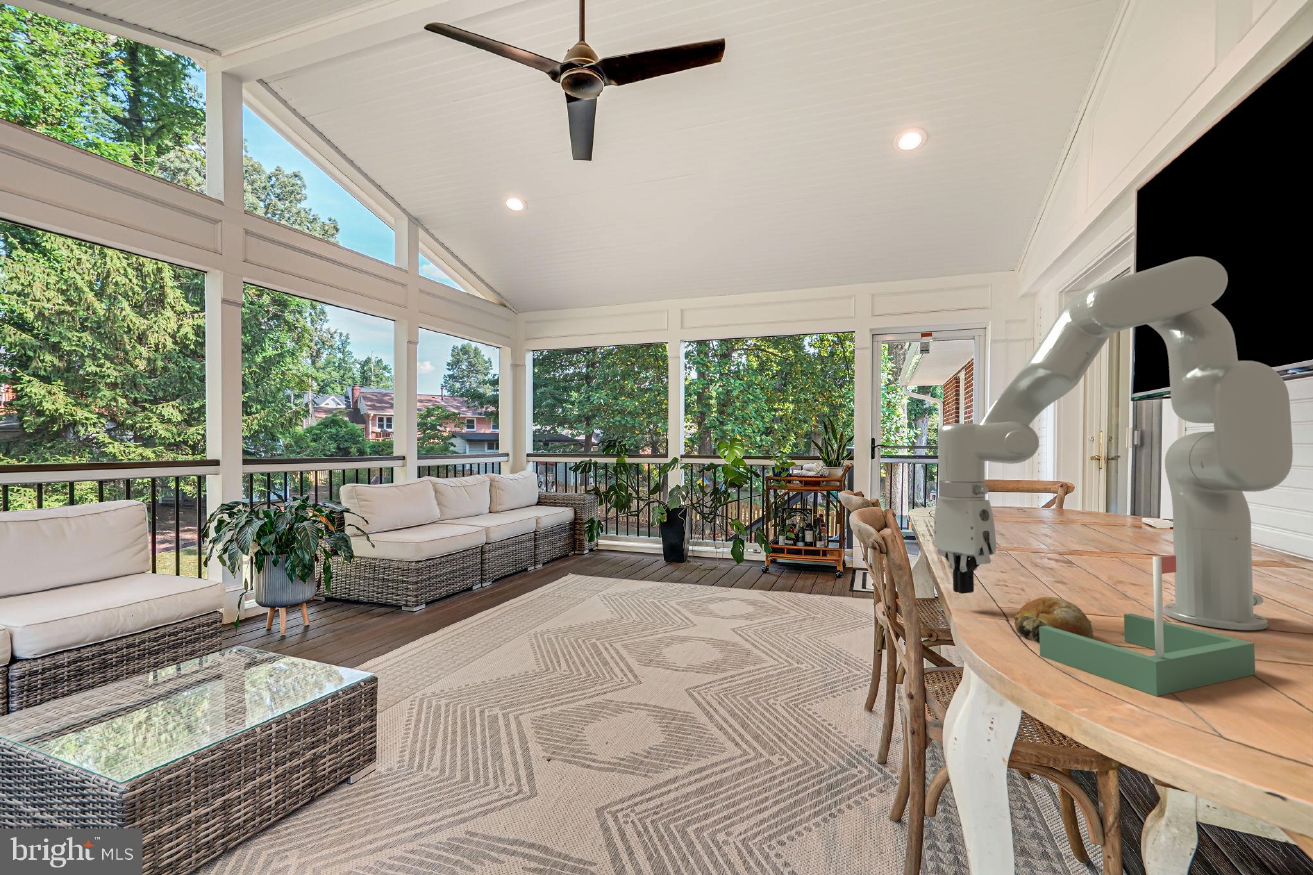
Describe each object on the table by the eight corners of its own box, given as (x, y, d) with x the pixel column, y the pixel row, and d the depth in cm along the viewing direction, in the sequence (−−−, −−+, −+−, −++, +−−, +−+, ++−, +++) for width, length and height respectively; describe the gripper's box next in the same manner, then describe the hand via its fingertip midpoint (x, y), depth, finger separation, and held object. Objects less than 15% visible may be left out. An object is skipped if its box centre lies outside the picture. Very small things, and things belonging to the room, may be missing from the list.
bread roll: (1094, 675, 84) (1120, 626, 84) (1023, 640, 86) (1047, 592, 86) (1061, 651, 94) (1084, 607, 94) (998, 621, 96) (1020, 578, 96)
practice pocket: (1131, 639, 88) (1128, 534, 89) (1255, 674, 75) (1251, 549, 75) (1039, 655, 82) (1037, 541, 83) (1156, 696, 69) (1153, 559, 69)
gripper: (1013, 493, 101) (1016, 600, 100) (945, 488, 115) (947, 581, 114) (980, 494, 98) (982, 604, 98) (914, 489, 112) (916, 584, 112)
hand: (963, 591), depth 106 cm, fingers closed
